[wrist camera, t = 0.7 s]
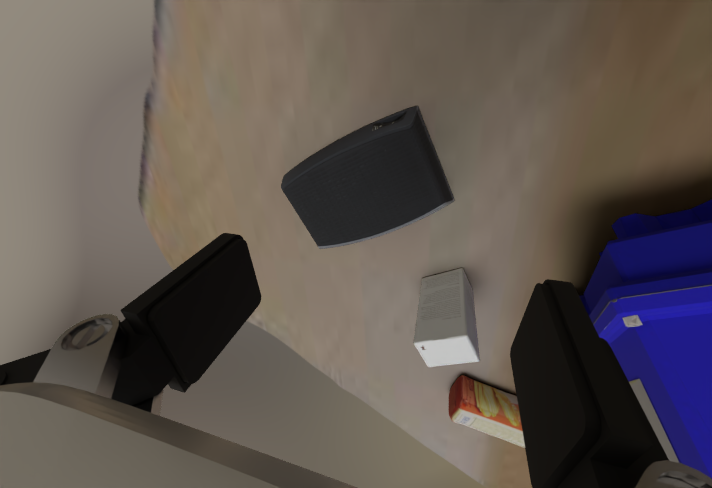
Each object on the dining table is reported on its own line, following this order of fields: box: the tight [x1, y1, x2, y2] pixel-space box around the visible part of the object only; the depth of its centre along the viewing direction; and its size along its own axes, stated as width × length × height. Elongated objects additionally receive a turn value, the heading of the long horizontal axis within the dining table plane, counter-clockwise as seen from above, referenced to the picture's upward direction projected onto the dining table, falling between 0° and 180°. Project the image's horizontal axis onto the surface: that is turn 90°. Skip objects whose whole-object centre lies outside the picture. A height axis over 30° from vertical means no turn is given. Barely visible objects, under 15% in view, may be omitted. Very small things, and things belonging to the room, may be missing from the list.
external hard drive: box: [281, 106, 454, 249], centre depth 36 cm, size 13×19×4 cm
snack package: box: [449, 375, 525, 448], centre depth 48 cm, size 21×7×7 cm, turn 78°
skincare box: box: [414, 268, 480, 367], centre depth 36 cm, size 6×4×12 cm
